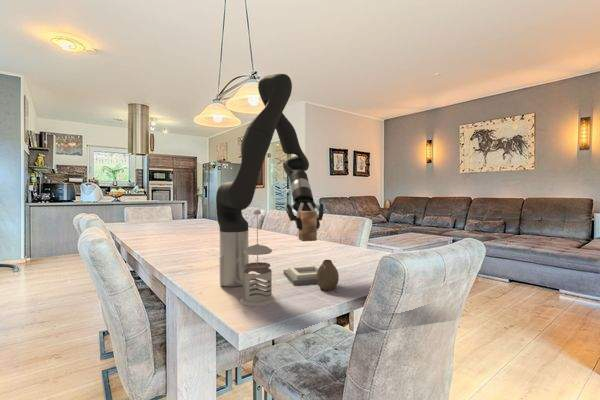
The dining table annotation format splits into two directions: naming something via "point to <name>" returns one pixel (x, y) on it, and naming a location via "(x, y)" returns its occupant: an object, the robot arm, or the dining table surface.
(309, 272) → the pocket board
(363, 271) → the dining table surface
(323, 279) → the vase
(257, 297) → the french press
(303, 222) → the copper rectangular block
